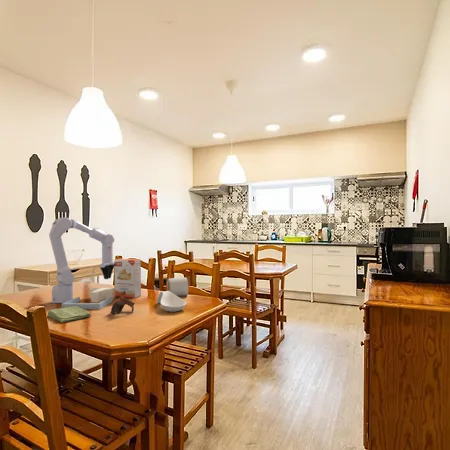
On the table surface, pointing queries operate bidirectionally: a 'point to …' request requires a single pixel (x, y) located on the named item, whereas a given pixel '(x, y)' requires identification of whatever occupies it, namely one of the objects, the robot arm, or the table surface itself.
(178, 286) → the toilet paper
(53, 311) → the washcloth
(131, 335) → the table surface
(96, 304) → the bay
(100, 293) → the T-block
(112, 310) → the brown arched piece
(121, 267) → the cracker box
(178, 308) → the spoon rest
